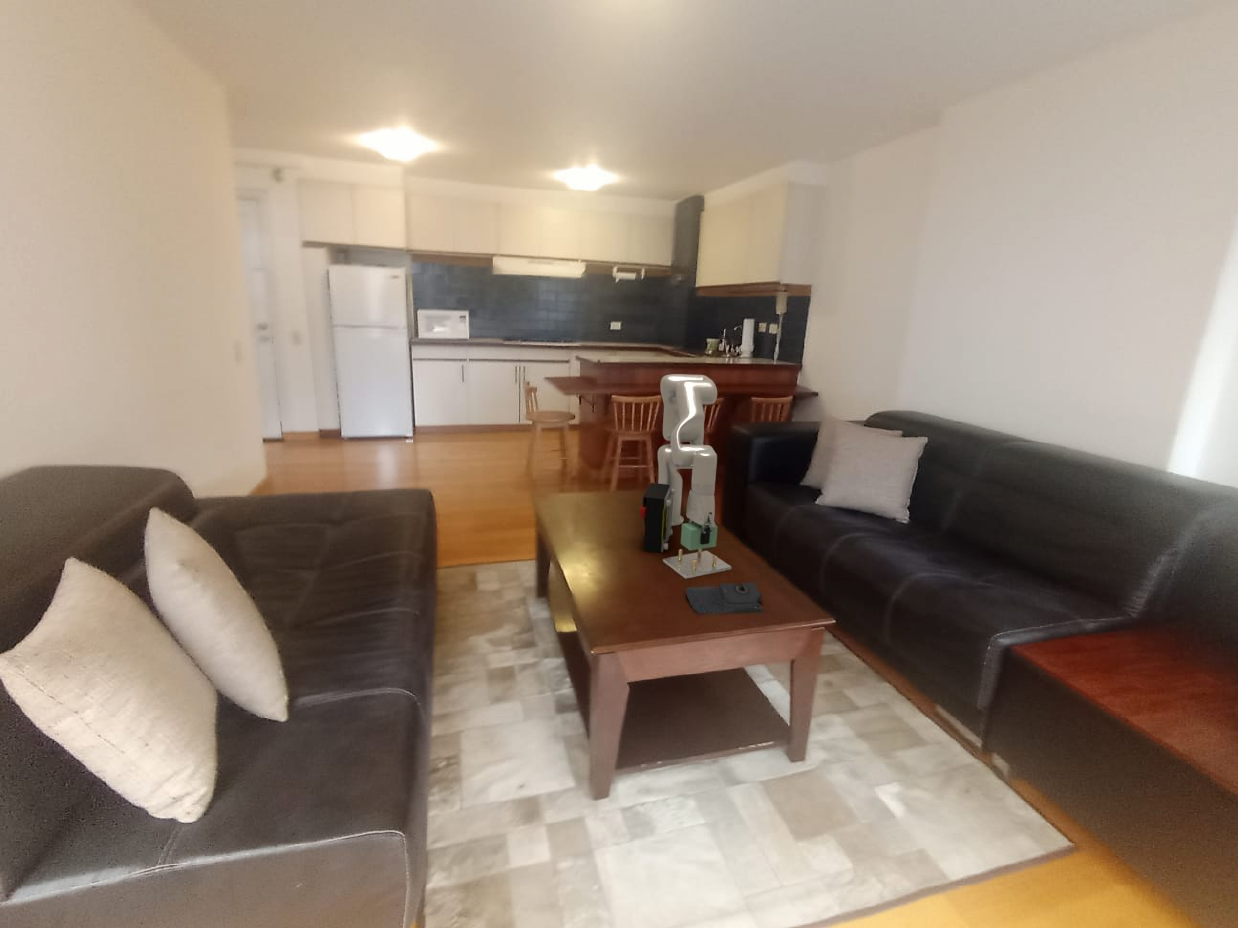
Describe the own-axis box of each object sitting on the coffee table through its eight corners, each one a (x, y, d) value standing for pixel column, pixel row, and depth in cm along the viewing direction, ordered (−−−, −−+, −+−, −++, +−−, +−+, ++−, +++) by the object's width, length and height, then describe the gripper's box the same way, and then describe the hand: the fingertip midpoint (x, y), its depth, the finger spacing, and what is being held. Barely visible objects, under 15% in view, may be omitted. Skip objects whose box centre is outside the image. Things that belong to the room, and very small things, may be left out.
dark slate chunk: (680, 591, 177) (681, 577, 175) (749, 588, 180) (750, 574, 179) (694, 617, 162) (695, 601, 161) (768, 613, 166) (770, 598, 164)
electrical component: (667, 553, 202) (670, 499, 197) (638, 550, 204) (641, 496, 199) (672, 535, 219) (676, 485, 214) (646, 532, 221) (648, 482, 216)
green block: (680, 543, 193) (682, 522, 191) (706, 539, 197) (707, 518, 195) (689, 550, 187) (691, 528, 185) (715, 546, 191) (717, 524, 189)
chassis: (663, 561, 196) (663, 549, 195) (706, 553, 204) (707, 541, 203) (685, 578, 184) (686, 565, 183) (731, 569, 192) (732, 556, 191)
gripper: (678, 482, 193) (675, 532, 197) (708, 497, 178) (704, 551, 182) (697, 480, 196) (693, 529, 201) (728, 494, 181) (723, 548, 186)
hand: (698, 539), depth 191 cm, fingers closed on green block, 6 cm apart
